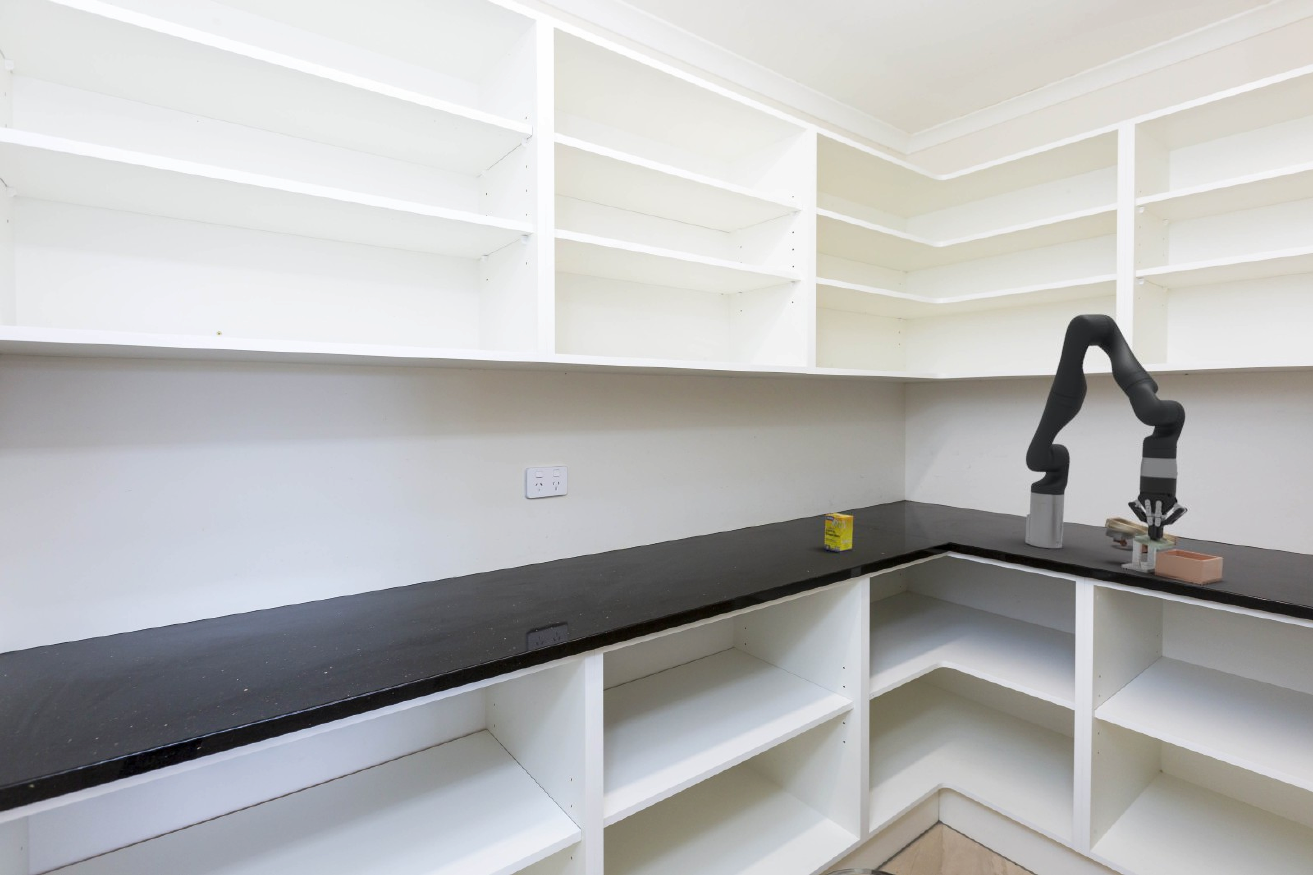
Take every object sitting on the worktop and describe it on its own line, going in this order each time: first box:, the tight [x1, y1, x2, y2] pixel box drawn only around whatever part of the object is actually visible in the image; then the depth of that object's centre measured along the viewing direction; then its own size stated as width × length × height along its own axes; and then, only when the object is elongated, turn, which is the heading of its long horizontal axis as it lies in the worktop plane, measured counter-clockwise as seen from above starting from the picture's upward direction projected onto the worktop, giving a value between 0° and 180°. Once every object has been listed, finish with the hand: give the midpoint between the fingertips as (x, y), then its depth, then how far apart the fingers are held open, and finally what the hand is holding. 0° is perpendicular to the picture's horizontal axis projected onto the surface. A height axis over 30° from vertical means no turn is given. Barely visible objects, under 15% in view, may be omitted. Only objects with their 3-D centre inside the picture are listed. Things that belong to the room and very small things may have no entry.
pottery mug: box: [1112, 538, 1148, 554], centre depth 193 cm, size 12×10×8 cm
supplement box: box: [824, 512, 854, 554], centre depth 185 cm, size 6×6×11 cm
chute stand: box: [1121, 533, 1157, 574], centre depth 168 cm, size 6×10×10 cm, turn 116°
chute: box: [1104, 516, 1179, 550], centre depth 167 cm, size 17×13×5 cm
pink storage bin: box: [1154, 548, 1224, 586], centre depth 159 cm, size 10×10×6 cm
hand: (1155, 539), depth 160 cm, fingers closed
